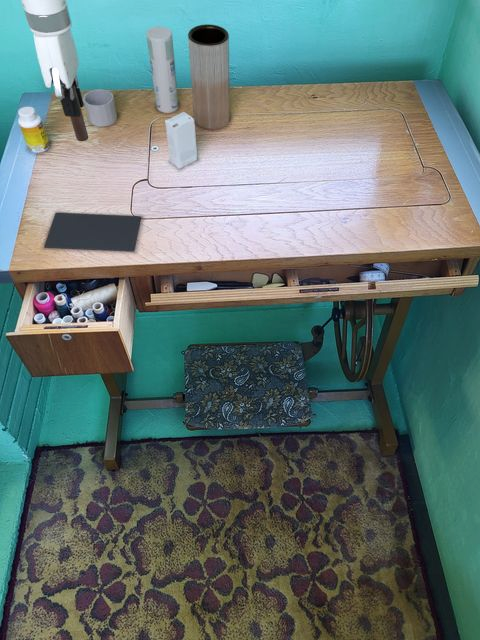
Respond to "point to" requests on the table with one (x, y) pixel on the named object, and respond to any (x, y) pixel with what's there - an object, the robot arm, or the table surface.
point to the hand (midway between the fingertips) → (74, 110)
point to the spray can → (163, 68)
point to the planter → (210, 75)
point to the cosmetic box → (181, 139)
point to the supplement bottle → (33, 130)
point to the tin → (100, 107)
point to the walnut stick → (78, 121)
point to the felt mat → (93, 232)
